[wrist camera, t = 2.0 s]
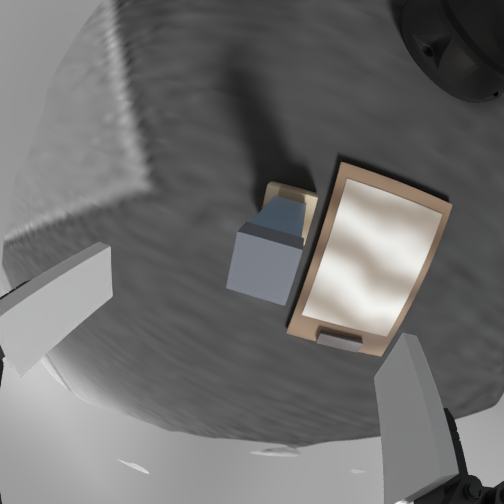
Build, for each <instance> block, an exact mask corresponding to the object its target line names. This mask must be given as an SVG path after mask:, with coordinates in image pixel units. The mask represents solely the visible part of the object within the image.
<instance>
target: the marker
mask: <svg viewBox="0 0 504 504" xmlns="http://www.w3.org/2000/svg"><path fill="white" fill-rule="evenodd" d="M306 205H307V204H304V203H301V202H297V201H294V200H290V199H286V198H283V197H279V196H275V195H274V197H273V198H272V199H271V200H270V201H269V202H268V203H267V204H266V206H265V207H264V208H263V209H262V210H261V211H260V212H259V213H258V215H257V216H256V217H255V218H254V219H253V220H252V221H251V223H249V222H246V223H245V224H244V225H243V226H242V227H241V228H240V229H239V230H238V232H237V237H236V242H235V246H234V251H233V256H232V261H231V266H230V271H229V276H228V281H227V286H226V288H228V289H231V290H234V291H237V292H241V293H244V294H247V295H250V296H254V297H257V298H260V299H264V300H267V301H270V302H274V303H277V304H281V305H284V306H285V304H286V301H287V298H288V295H289V292H290V289H291V286H292V283H293V280H294V277H295V273H296V270H297V267H298V264H299V261H300V258H301V254H302V251H303V245H304V238H302V231H303V225H304V218H305V212H306Z"/></svg>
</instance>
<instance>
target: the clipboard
mask: <svg viewBox="0 0 504 504" xmlns="http://www.w3.org/2000/svg"><path fill="white" fill-rule="evenodd" d="M451 208H452V204H450V203H448V202H445V201H443V200H441V199H439V198H437V197H434V196H432V195H430V194H428V193H425V192H423V191H421V190H418V189H416V188H413V187H411V186H408V185H406V184H403V183H401V182H398V181H396V180H393V179H390V178H388V177H385V176H382V175H379V174H377V173H374V172H371V171H368V170H365V169H362V168H359V167H356V166H353V165H350V164H347V163H344V162H341V163H340V167H339V170H338V174H337V178H336V181H335V185H334V189H333V192H332V196H331V199H330V203H329V206H328V210H327V213H326V216H325V220H324V223H323V226H322V229H321V233H320V236H319V239H318V242H317V245H316V248H315V252H314V255H313V258H312V261H311V264H310V267H309V270H308V273H307V276H306V279H305V282H304V285H303V287H302V290H301V293H300V296H299V299H298V302H297V304H296V307H295V310H294V313H293V315H292V318H291V321H290V324H289V326H288V329H287V334H291V335H294V336H298V337H302V338H305V339H309V340H313V341H316V343H319V344H323V345H327V346H331V347H335V348H340V349H344V350H348V351H352V352H357V353H358V352H363V353H367V354H372V355H377V356H382V354H383V353H384V351H385V350H386V348H387V346H388V345H389V343H390V341H391V340H392V338H393V336H394V335H395V333H396V331H397V329H398V328H399V326H400V324H401V322H402V321H403V319H404V317H405V315H406V313H407V311H408V309H409V308H410V306H411V304H412V302H413V300H414V298H415V296H416V294H417V292H418V290H419V288H420V286H421V284H422V281H423V279H424V277H425V275H426V273H427V270H428V268H429V266H430V264H431V261H432V259H433V257H434V254H435V252H436V249H437V247H438V244H439V242H440V239H441V237H442V234H443V231H444V228H445V226H446V223H447V220H448V217H449V214H450V211H451Z"/></svg>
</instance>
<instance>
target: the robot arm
mask: <svg viewBox="0 0 504 504" xmlns="http://www.w3.org/2000/svg"><path fill="white" fill-rule="evenodd" d="M400 27H401V33H402V36H403V39H404V42H405V44H406V46H407V48H408V50H409V52H410V54H411V55H412V57H413V59H414V60H415V62H416V63H417V64H418V66H419V67H420V68H421V69H422V71H423V72H424V73H425V74H426V75H427V76H428V77H429V78H430V79H431V80H432V81H433V82H434V83H435V84H436V85H438V86H439V87H440V88H442V89H443V90H444V91H446V92H447V93H449V94H451V95H452V96H454V97H456V98H459V99H461V100H464V101H467V102H474V103H479V102H485V101H489V100H493V99H495V98H497V97H499V96H500V95H501V94H502V93H503V92H504V0H408V1H407V3H406V4H405V6H404V8H403V9H402V12H401V16H400ZM112 296H113V293H112V277H111V246H109V245H106V244H103V243H101V242H98V243H96V244H94V245H92V246H90V247H88V248H86V249H84V250H83V251H81V252H79V253H77V254H75V255H73V256H72V257H70V258H68V259H66V260H65V261H63V262H61V263H59V264H58V265H56V266H54V267H52V268H51V269H49V270H47V271H46V272H44V273H42V274H41V275H39V276H37V277H36V278H34V279H32V280H29V281H26V282H24V283H22V284H20V285H19V286H17V287H16V289H13V290H11V291H10V292H9V293H6V294H5V295H3V296H2V297H0V386H1V379H2V372H3V361H2V359H3V358H4V357H6V359H7V361H8V363H9V365H10V367H11V368H12V369H13V370H14V371H15V372H16V373H17V374H18V375H19V376H20V377H21V376H23V375H24V374H25V373H26V372H27V371H28V370H29V369H30V368H31V367H32V366H33V365H34V364H36V363H37V362H38V361H39V360H40V359H41V358H42V357H43V356H44V355H45V354H46V353H47V352H49V351H50V350H51V349H52V348H53V347H54V346H55V345H56V344H57V343H59V342H60V341H61V340H62V339H63V338H64V337H65V336H66V335H68V334H69V333H70V332H71V331H72V330H73V329H74V328H76V327H77V326H78V325H79V324H80V323H81V322H83V321H84V320H85V319H86V318H87V317H88V316H90V315H91V314H92V313H93V312H94V311H96V310H97V309H98V308H99V307H100V306H101V305H103V304H104V303H105V302H106V301H108V300H109V299H110V298H111V297H112ZM374 382H375V389H376V396H377V404H378V412H379V421H380V430H381V440H382V441H381V442H382V455H383V473H384V504H409V503H411V502H413V501H414V504H504V481H503V482H501V483H500V484H498V485H497V486H495V487H494V488H491V487H484V486H482V484H481V481H480V480H479V479H478V478H477V477H476V476H473V475H468V472H467V467H466V462H465V458H464V454H463V449H462V445H461V442H460V441H459V439H460V438H459V434H458V432H457V427H456V423H455V420H454V418H453V416H452V415H451V413H450V412H449V410H448V409H447V408H443V406H442V403H441V400H440V397H439V394H438V391H437V388H436V385H435V382H434V379H433V376H432V373H431V371H430V368H429V365H428V363H427V360H426V358H425V355H424V352H423V350H422V347H421V345H420V342H419V340H418V338H417V336H415V335H411V334H406V333H402V334H401V336H400V338H399V340H398V341H397V343H396V345H395V346H394V348H393V349H392V351H391V353H390V354H389V356H388V357H387V359H386V360H385V362H384V363H383V365H382V366H381V368H380V369H379V371H378V372H377V374H376V375H375V377H374ZM0 504H2V501H1V495H0Z"/></svg>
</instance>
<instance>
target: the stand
mask: <svg viewBox="0 0 504 504" xmlns="http://www.w3.org/2000/svg"><path fill="white" fill-rule="evenodd" d="M274 195H275V196H279V197H283V198H286V199H290V200H294V201H297V202H301V203H304V204H307V205H306V212H305V218H304V225H303V231H302V238H304V244H305V241H306V238H307V234H308V231H309V228H310V224H311V221H312V217H313V214H314V210H315V207H316V203H317V200H318V193H315V192H311V191H308V190H304V189H301V188H297V187H293V186H290V185H286V184H282V183H278V182H275V181H271V182H270V183H269V184H268V185H267V189H266V193H265V198H264V202H263V206H262V209H263V208H264V207H265V206H266V204H267V203H268V202H269V201H270V200H271V199H272V198H273V197H274Z"/></svg>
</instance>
